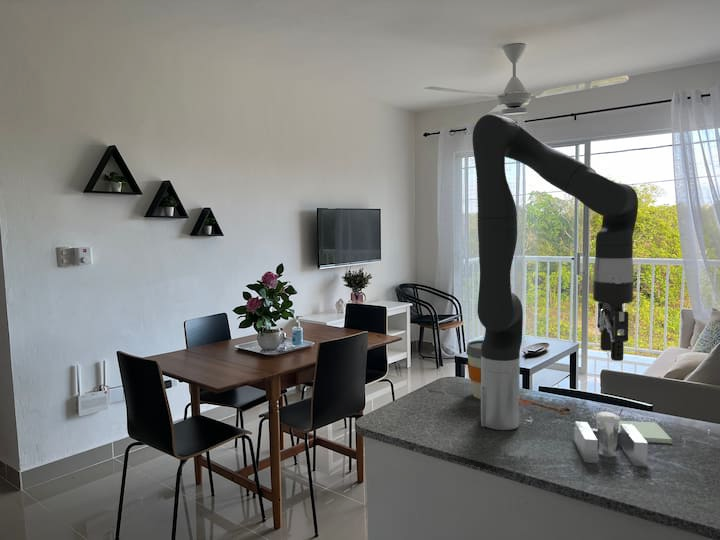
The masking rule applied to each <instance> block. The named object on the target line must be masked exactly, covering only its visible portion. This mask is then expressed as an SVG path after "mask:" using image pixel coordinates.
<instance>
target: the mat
mask: <svg viewBox="0 0 720 540" xmlns="http://www.w3.org/2000/svg"><path fill="white" fill-rule="evenodd" d="M621 424H633V425H634V427H635V428H636V429H637V430H638V432H639V433H640V434H641V435H642V437H643V438H644V439H645V440H646V441H647V443H655V444H656V443H659V444H672V440H673V439H672V438H671V437H670V436H669V435H668V434H667V432H665V430H664V429H663V428H662V427H661V426H660V425H659V424H658V423H657V422H654V421H653V422H652V421H635V420H634V421H632V420H631V421H630V420H620V422H619V429H618V430H620V425H621Z"/></svg>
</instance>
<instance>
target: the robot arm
mask: <svg viewBox="0 0 720 540" xmlns="http://www.w3.org/2000/svg"><path fill="white" fill-rule="evenodd" d="M472 150H473V157H474V165H475V174H476V195H477V196H476V198H477V199H476V200H477V235H478V236H477V239H478V260H479V261H478V262H479V263H478V265H479V285H478V297H477V317H478V319H479V322H480V324H481V325H482V326H483V327H484V328H485V333H484V337H483V339H482V340H483V343H482V345H481V399H480V426H481V428H482V427H485V428H489V429H492V430H497V431H510V430H515V429H517V428H518V427H519V426H520V404H519V401H520V400H519V399H520V371H521V369H520V366H521V365H520V364H521V362H520V361H521V360H520V359H521V358H520V356H521V354H520V352H521V347H522V342H523V341H522V340H523V325H524V324H523V320H524V316H523V315H524V312H523V311H524V310H523V305H522V302H521V300H520V298H519V296H517V295H516V294H515V293H514V292H512V285H511V271H512V265H513V261H514V256H515V252H516V248H517V240H518V211H517V205H516V203H515V202H516V201H515V200H514V197H513V194H512V191H511V189H510V186H509V183H508V179H507V175H506V174H507V173H506V158H507V159H511V160H514V161H516V162H519V163H521V164H522V165H523V164H524V165H525V166H527V167H528V168H529V169H532V170H533V171H534V172H535V173H536V174H537V175H539V177H541V178H542V179H543V180H544V181H546V182H547V183H549V184H550V185H552V186H554V187H555V188H557V189H559V190H560V191H562V192H564V193H565V194H568V195H570V196H572V197H574V198H575V199H577V200H578V201H579V202H580V203H582V204H583V205H584V206H586V207H587V208H588V209H590V210H591V211H593V212H595V213H596V214H597V215H599V216H600V215H601V216H602V221H601V229H600V230H599V231H598V232H597V233H596V236H595V254H594V257H595V258H594V264H593V265H594V266H593V287H592V288H593V291H592V292H593V294H592V296H593V297H592V299H593V301H595V302H597V306H598V308H597V325H596V326H597V329H598V330H599V333H600V350H601V351H604V352H605V351H609V352H610V359H611V360H612V361H616V362H617V361H618V362H619V361H620V362H622V361H623V360H624V346H625V345H624V343H626V342H629V316H630V315H629V311H624V307H623V305H624V304H630V303H632V302H633V299H634V271H635V270H634V261H633V257H634V256H633V255H634V254H633V253H634V251H633V250H634V240H633V236H634V231H635V226H636V222H637V217H638V212H639V199H638V194H637V191H636V190H635V189H634V187H632V186H631V185H629V184H626V183H619V182H616V181H613V180H611V179H609V178H606V177H605V176H603V175H601V174H600V173H597V172H596V170H595V169H594V168H592V167H591V166H589V165H587V164H585V163H583V162H582V161H580V160H578V159H576V158H574V157H572V156H570V155H568V154H566V153H564V152H562V151H560V150H557V149H555V148H554V147H552V146H549V145H547V144H546V143H544V142H542V141H541V140H540V139H538V138H536V137H535V136H534V135H532V134H531V133H530V132H528V131H527V129H524V128H523V127H522V126H521V125H520V124H518V123H517V122H516V121H515V120H513V119H512V118H509V117H506V116H502V115H498V114H494V113H493V114H491V113H490V114H485V115H482V116H481V117H480V118H479V119H478V120H477V122H476V123H475V125H474V127H473V131H472ZM618 334H619V335H618Z"/></svg>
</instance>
